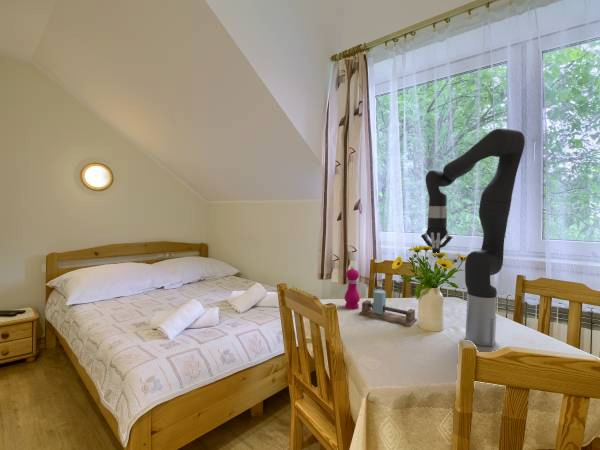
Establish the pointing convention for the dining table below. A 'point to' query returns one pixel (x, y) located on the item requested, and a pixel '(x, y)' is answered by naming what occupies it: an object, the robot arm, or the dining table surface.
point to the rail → (389, 314)
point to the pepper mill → (352, 289)
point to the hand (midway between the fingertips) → (435, 256)
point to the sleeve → (379, 302)
